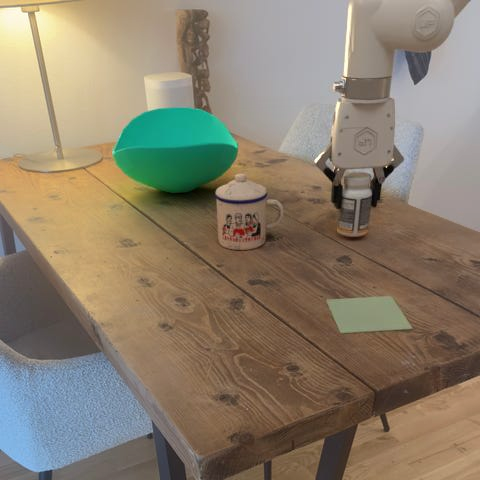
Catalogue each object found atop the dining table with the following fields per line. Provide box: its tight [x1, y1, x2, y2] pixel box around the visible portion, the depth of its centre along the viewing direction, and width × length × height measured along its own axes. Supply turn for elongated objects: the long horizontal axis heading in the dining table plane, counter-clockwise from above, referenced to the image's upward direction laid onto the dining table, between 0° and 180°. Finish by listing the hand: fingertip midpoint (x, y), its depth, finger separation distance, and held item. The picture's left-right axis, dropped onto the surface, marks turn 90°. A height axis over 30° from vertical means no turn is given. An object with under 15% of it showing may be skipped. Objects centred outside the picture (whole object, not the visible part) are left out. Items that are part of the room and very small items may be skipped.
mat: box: [325, 295, 414, 335], centre depth 81 cm, size 10×10×1 cm
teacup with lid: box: [214, 173, 284, 251], centre depth 99 cm, size 12×9×12 cm
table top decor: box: [111, 106, 239, 194], centre depth 125 cm, size 40×28×13 cm
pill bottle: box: [336, 171, 372, 238], centre depth 101 cm, size 6×6×10 cm
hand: (354, 204), depth 101 cm, fingers closed on pill bottle, 5 cm apart
